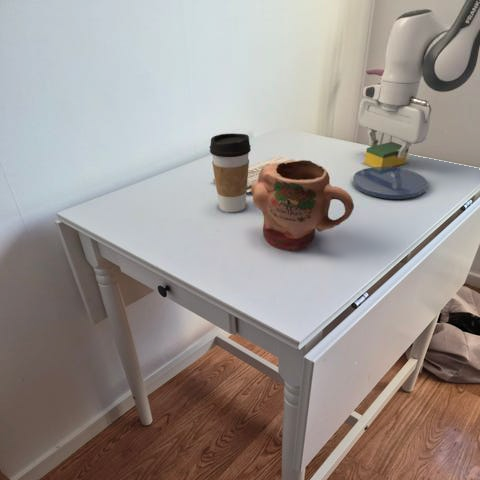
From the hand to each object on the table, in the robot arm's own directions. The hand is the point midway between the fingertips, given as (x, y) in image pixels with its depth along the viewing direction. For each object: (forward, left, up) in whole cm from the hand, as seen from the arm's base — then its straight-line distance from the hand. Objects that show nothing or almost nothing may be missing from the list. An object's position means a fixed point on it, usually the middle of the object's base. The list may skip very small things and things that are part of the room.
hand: (385, 151), depth 110 cm
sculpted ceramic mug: (+44, +20, -3) cm, 48 cm away
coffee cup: (+47, 0, -3) cm, 47 cm away
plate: (+10, +11, -3) cm, 15 cm away
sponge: (0, 0, -3) cm, 3 cm away
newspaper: (+32, -10, -3) cm, 33 cm away
